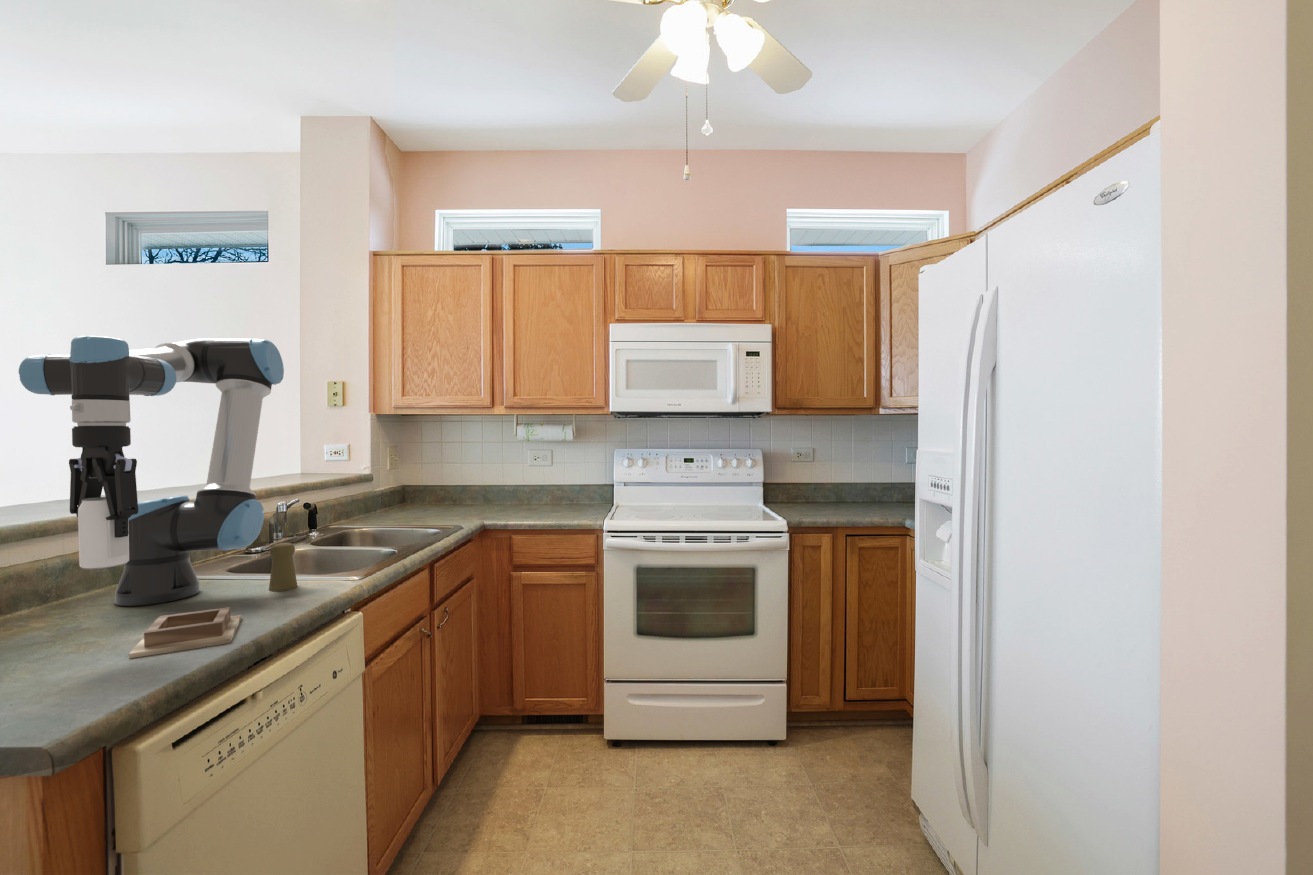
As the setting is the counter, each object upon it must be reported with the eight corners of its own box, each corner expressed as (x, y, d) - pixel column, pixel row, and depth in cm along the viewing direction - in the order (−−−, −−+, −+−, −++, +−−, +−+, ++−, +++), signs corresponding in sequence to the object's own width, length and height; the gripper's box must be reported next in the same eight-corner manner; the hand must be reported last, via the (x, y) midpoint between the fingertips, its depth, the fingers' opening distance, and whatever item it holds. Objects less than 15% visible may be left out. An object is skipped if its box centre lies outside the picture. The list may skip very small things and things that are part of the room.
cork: (276, 585, 147) (276, 541, 146) (302, 584, 147) (301, 540, 147) (263, 591, 140) (262, 546, 140) (289, 590, 141) (289, 545, 141)
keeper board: (153, 630, 113) (152, 613, 113) (241, 618, 120) (241, 602, 120) (128, 658, 99) (128, 639, 99) (230, 642, 106) (229, 624, 106)
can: (97, 570, 100) (96, 500, 100) (69, 568, 101) (67, 499, 101) (138, 562, 106) (137, 496, 106) (111, 560, 107) (110, 495, 107)
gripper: (38, 425, 102) (42, 556, 103) (114, 424, 97) (117, 562, 97) (90, 425, 110) (93, 547, 110) (163, 424, 104) (166, 553, 104)
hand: (104, 554), depth 104 cm, fingers closed on can, 6 cm apart
